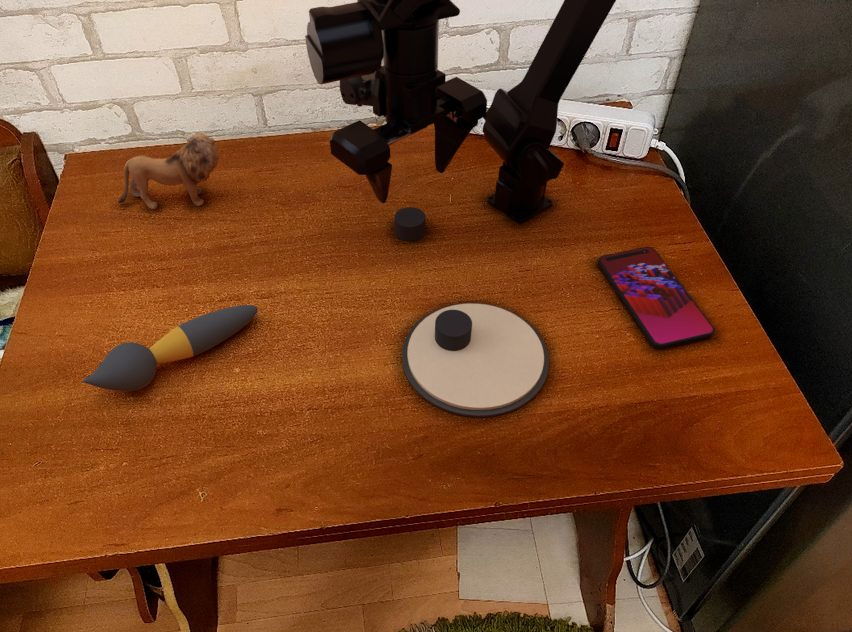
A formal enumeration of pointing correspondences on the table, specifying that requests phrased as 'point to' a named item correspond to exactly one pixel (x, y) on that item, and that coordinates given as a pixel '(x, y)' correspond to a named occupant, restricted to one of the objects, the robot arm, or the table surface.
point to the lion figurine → (173, 169)
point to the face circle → (477, 363)
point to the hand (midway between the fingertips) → (411, 186)
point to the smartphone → (655, 298)
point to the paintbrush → (168, 349)
